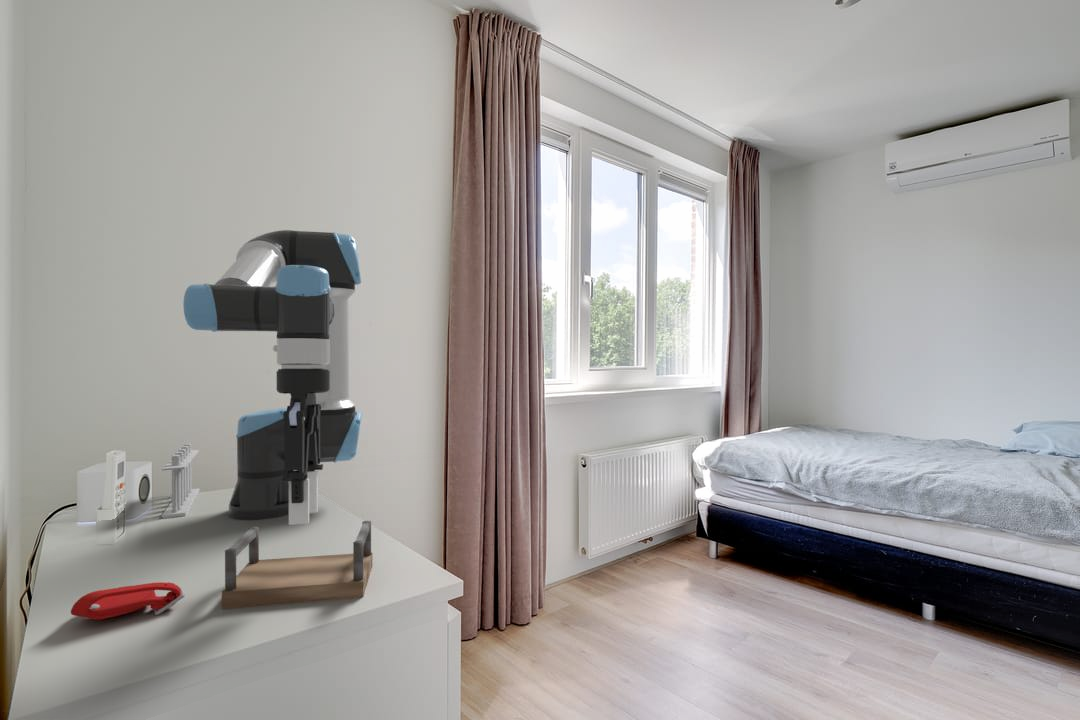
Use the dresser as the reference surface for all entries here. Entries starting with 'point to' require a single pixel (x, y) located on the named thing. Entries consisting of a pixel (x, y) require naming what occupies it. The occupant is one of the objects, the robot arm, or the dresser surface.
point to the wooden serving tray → (295, 574)
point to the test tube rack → (181, 482)
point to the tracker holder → (126, 600)
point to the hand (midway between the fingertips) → (303, 517)
